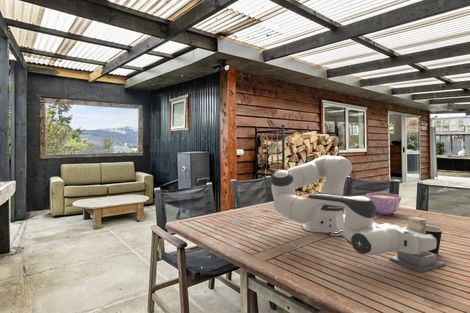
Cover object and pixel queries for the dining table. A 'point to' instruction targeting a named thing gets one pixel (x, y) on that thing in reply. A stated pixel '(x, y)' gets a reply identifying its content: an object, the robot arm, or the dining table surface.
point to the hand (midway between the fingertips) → (418, 232)
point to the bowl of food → (385, 202)
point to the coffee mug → (437, 234)
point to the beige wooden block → (418, 229)
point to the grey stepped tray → (418, 261)
